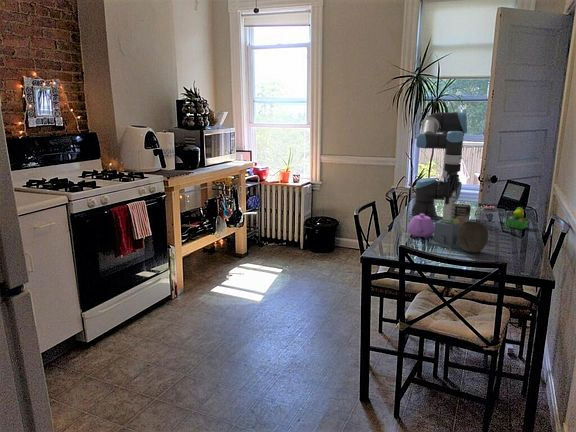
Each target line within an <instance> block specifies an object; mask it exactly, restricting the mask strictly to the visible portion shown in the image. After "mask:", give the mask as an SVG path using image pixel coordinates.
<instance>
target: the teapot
mask: <svg viewBox="0 0 576 432" xmlns="http://www.w3.org/2000/svg"><path fill="white" fill-rule="evenodd" d="M434 229H435V223H434V221H433V220H432V217H431V218H430V217H428V216H425V214H419V215H417V216H413V217H412V219H410V221H409V223H408V225H407V231H408V233H409V234H410V235H411V236H412V238H418V237H420V238H421V237H423V238H424V239H429V237H431V236H432V235H434Z"/></svg>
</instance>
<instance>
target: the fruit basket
mask: <svg viewBox="0 0 576 432" xmlns="http://www.w3.org/2000/svg"><path fill="white" fill-rule="evenodd" d="M524 216H525V213H524V209H523V208H522V207H520V206H518V207H516V208H515V210H514V211H513V215H508V216H507V217H505V218H504V220H505V224H506V227H507V228H513V229H518V230H519V229H520V230H524V229H526V228H527V226H528V225H529V224H528V223H529V221H530V218H525V217H524Z"/></svg>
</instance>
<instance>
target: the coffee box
mask: <svg viewBox="0 0 576 432" xmlns="http://www.w3.org/2000/svg"><path fill="white" fill-rule="evenodd" d="M455 204H456V206H455V208H456V209H455V210H454V211H455V214H454V215H455V217H454V219H458V220H459V222H460V227H461V225H462V224H464V223H465V222H468V221H470V219H471V218H470V216H471V209H472V207H471V205H470V204H461V203H460V204H459V203H455Z"/></svg>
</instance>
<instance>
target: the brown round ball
mask: <svg viewBox="0 0 576 432" xmlns="http://www.w3.org/2000/svg"><path fill="white" fill-rule="evenodd" d="M488 231H489V230H488V229H487V226H486V225H485V224H484V223H482V222H479V221H475V220H473V221H472V220H471V221H470V220H469V221H468V222H465V223H464V224H462V225H461V227H460V228H459V230H458V241H459V244H458V245H459V246H460V247H461V248H462V249H463V250H464V251H465V252H467V253H471V254H478V253H480V252H481V251H482V250H484V248H485V247H486V245H487V244H488V240H489V232H488Z"/></svg>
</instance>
